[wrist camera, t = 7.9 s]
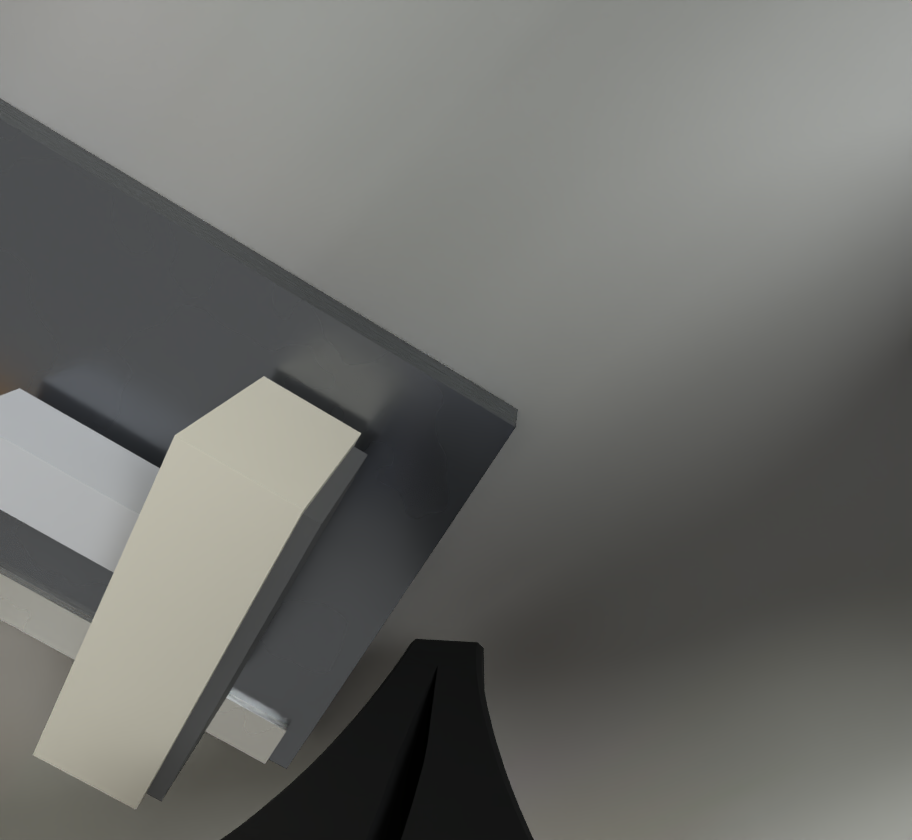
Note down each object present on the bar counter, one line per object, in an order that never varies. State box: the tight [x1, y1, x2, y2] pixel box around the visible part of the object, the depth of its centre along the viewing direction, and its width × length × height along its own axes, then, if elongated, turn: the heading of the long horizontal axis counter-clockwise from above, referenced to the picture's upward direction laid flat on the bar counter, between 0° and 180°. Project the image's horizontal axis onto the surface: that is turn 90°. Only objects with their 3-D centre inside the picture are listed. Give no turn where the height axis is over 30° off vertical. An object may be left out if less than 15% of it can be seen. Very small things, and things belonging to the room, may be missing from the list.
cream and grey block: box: [0, 376, 368, 810], centre depth 11 cm, size 6×7×3 cm
